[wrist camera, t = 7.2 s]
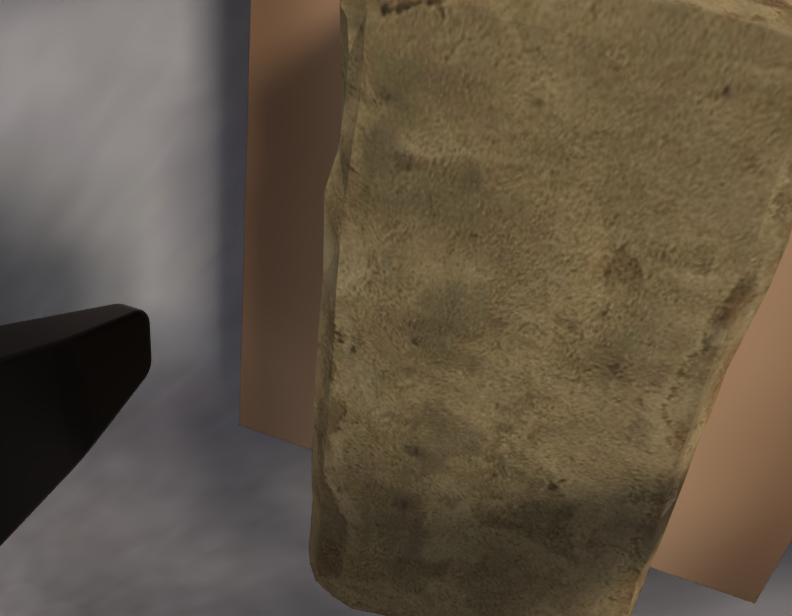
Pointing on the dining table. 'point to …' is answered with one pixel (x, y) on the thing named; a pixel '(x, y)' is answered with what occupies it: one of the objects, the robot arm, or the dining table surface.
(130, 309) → the robot arm
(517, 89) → the stone block
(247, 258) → the plinth
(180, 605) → the dining table surface
